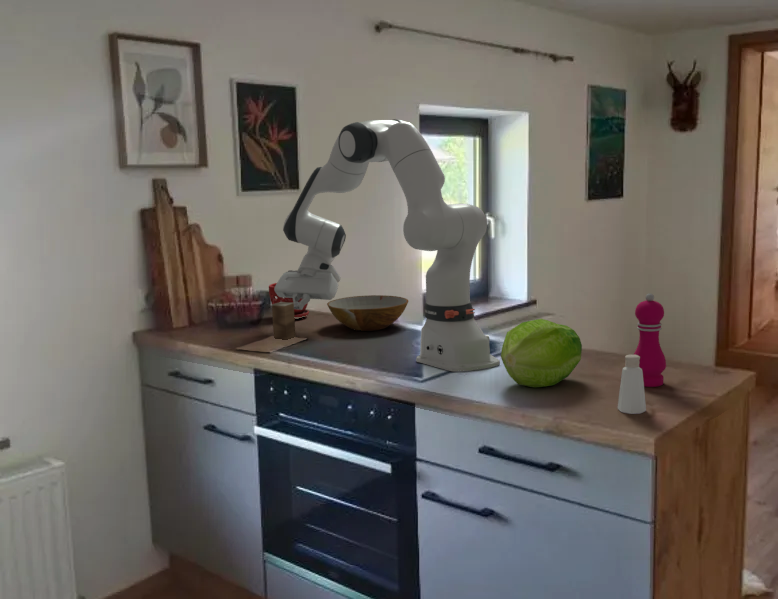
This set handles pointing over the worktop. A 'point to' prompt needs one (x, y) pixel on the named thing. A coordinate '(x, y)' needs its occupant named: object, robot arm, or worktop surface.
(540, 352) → the lettuce
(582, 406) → the worktop surface
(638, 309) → the pepper mill
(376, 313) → the bowl
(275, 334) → the block
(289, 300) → the plant pot
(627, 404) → the pepper shaker
